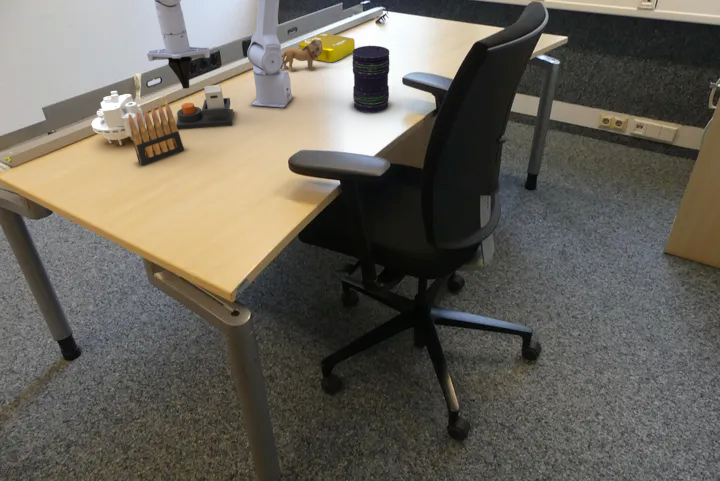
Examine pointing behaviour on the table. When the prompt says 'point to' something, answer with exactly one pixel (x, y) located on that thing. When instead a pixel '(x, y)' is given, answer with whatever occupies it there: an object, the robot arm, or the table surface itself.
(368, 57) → the storage jar
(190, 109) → the power button
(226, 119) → the black docking base
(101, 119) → the mechanical part
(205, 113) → the adapter socket
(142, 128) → the ammunition clip
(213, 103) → the block
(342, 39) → the element tile
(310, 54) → the lion figurine
